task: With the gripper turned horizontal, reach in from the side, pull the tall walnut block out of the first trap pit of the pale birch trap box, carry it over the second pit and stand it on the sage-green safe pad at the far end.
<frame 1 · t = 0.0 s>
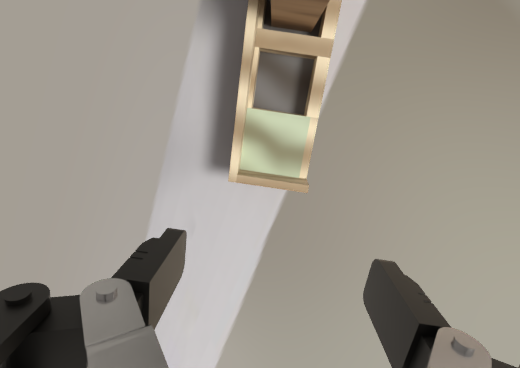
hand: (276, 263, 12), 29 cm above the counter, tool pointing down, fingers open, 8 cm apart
trap box: (284, 72, 37), on the counter
walnut block: (294, 6, 34), resting on trap box
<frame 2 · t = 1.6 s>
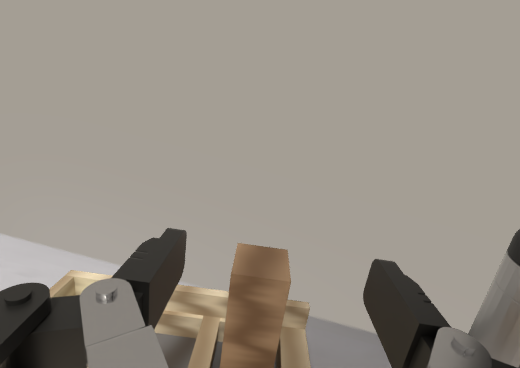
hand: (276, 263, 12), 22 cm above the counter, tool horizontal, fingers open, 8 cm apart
trap box: (174, 366, 30), on the counter
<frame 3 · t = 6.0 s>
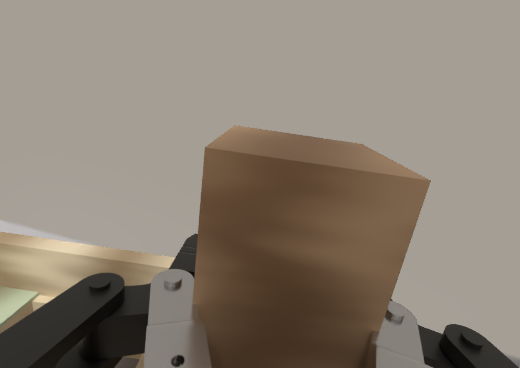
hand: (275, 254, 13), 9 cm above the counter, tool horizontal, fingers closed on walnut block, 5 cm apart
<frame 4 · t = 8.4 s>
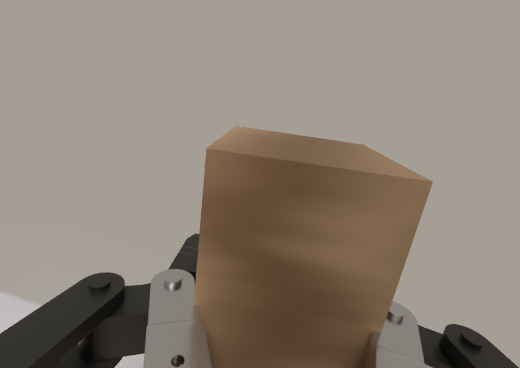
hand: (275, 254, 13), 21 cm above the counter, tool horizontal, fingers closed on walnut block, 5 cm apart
when the fingers open (13 cm above the counter, at t = 10.9 s): walnut block stays where it is, resting on trap box.
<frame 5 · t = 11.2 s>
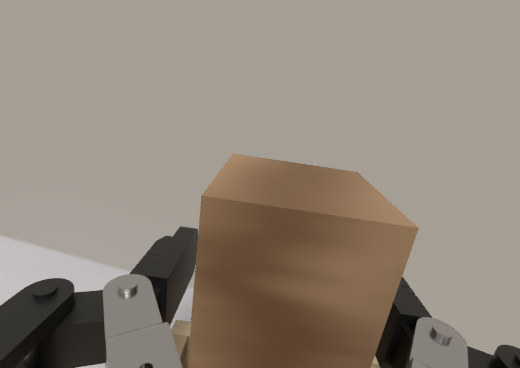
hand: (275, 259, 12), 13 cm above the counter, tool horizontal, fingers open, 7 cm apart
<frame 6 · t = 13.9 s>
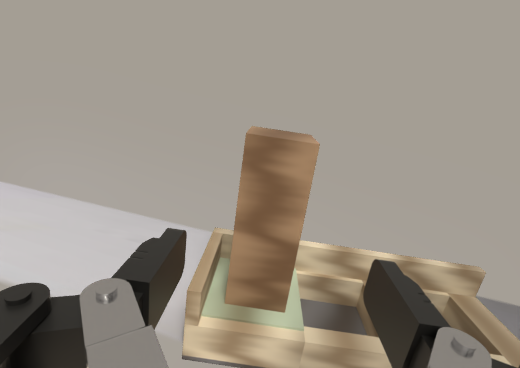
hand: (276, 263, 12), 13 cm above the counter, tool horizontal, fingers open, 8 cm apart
trap box: (344, 333, 26), on the counter
walnut block: (256, 288, 25), point 4 cm above the counter, touching trap box
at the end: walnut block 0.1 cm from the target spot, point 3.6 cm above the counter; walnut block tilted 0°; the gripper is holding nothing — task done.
